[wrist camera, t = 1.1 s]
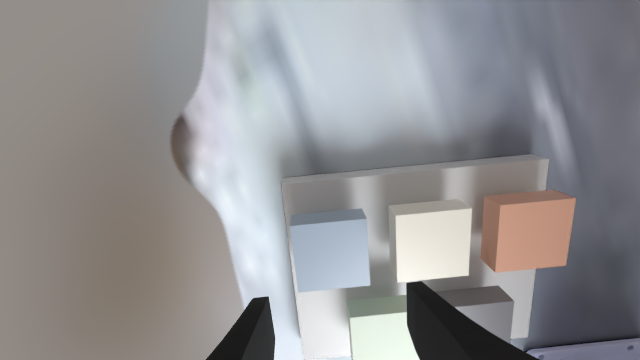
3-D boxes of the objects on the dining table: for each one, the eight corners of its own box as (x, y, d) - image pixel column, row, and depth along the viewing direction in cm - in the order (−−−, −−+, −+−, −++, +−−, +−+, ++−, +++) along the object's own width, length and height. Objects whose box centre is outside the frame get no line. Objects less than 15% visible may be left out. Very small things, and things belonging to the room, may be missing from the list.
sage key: (410, 294, 19) (419, 310, 17) (411, 346, 20) (419, 366, 18) (346, 300, 19) (349, 318, 17) (350, 352, 20) (354, 372, 18)
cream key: (458, 198, 17) (472, 208, 16) (455, 261, 18) (468, 275, 17) (388, 205, 17) (395, 215, 16) (389, 267, 18) (397, 282, 17)
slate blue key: (361, 208, 17) (366, 218, 16) (365, 270, 18) (370, 285, 17) (291, 215, 17) (289, 226, 16) (298, 276, 18) (298, 292, 17)
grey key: (498, 285, 19) (514, 301, 17) (494, 337, 20) (508, 356, 18) (434, 291, 19) (445, 308, 17) (433, 344, 20) (443, 363, 18)
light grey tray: (531, 154, 19) (549, 158, 18) (513, 322, 23) (527, 337, 21) (283, 177, 19) (281, 184, 18) (304, 343, 23) (303, 360, 21)
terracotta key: (553, 189, 17) (576, 198, 16) (545, 252, 18) (565, 265, 17) (484, 196, 17) (500, 205, 16) (480, 258, 18) (495, 272, 17)
